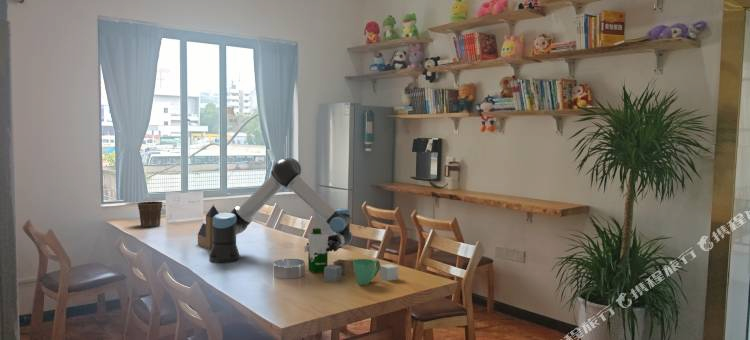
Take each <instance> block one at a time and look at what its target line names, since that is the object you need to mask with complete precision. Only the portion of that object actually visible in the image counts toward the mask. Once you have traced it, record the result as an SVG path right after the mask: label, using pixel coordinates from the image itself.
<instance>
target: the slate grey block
mask: <svg viewBox="0 0 750 340" xmlns="http://www.w3.org/2000/svg"><path fill="white" fill-rule="evenodd" d="M342 277H343V276H342V266H337V265H333V264H329V265H328V264H327V266H326V267H324V272H323V281H326V282H333V283H336V282H338V281H341V280H342V279H343V278H342Z"/></svg>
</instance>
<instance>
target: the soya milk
mask: <svg viewBox="0 0 750 340" xmlns="http://www.w3.org/2000/svg"><path fill="white" fill-rule="evenodd" d="M307 236H308V243H309V251H307V252H308V257H307V259H308V270H309V271H310V272H312V273H313V274H316V273H317V274H319V273H324V267H326V266H328V260H329V259H328V255H329V253H328V252H327V253H324V254H322V248H323V247H326V246H328V236H330V235H329V234H328V233H325V232H323V231H322V229H321V228H312V232H308V235H307Z"/></svg>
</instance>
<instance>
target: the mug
mask: <svg viewBox="0 0 750 340" xmlns="http://www.w3.org/2000/svg"><path fill="white" fill-rule="evenodd" d="M380 265H381V263H380V261H379V260H378V259H369V258H357V259H353V260H352V266H353V271H354V276H355V279H356V282H357V284H358V285H360V286H367V285H369V284H370V282H371V281H372V280H373V279H374V278H375V277H376V275H377V274H378V272H380Z"/></svg>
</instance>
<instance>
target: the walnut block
mask: <svg viewBox="0 0 750 340" xmlns="http://www.w3.org/2000/svg"><path fill="white" fill-rule="evenodd" d="M332 265H337V266H342V277H346V276H347V275H350V274H351V260H348V259H347V260H345V259H337V260H335V261H333V264H332Z"/></svg>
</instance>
